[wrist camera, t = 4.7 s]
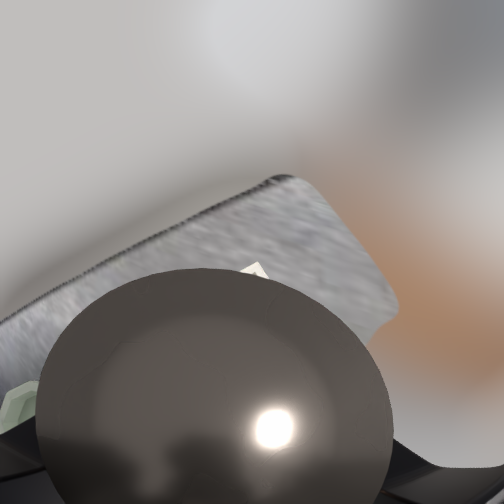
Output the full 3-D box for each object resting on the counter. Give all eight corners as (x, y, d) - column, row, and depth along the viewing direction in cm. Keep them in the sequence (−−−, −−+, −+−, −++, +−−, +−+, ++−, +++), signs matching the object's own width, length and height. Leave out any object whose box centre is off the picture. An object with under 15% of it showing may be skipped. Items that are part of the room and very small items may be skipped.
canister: (283, 404, 14) (436, 461, 3) (203, 451, 12) (174, 602, 1) (231, 328, 16) (267, 208, 4) (151, 373, 14) (-6, 360, 3)
